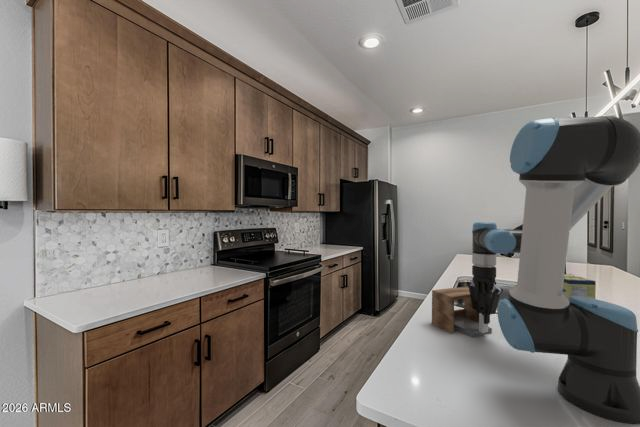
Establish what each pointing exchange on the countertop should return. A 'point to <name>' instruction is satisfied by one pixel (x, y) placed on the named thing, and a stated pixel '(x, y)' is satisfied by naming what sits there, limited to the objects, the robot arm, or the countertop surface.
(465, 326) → the slate board
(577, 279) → the protein box
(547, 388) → the countertop surface
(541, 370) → the countertop surface
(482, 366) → the countertop surface
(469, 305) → the walnut shelf
